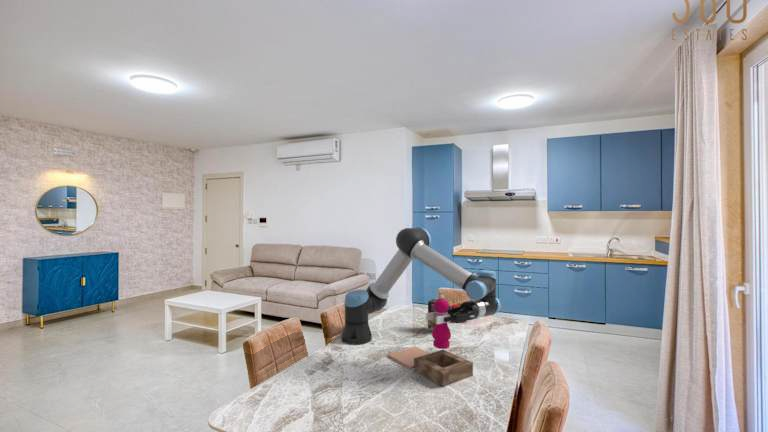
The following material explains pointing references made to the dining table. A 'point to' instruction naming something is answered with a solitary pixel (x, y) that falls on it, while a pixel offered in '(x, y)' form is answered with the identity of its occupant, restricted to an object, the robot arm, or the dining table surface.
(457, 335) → the dining table surface
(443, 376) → the walnut holder
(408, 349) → the terracotta tile
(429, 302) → the coffee box
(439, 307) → the pepper mill
